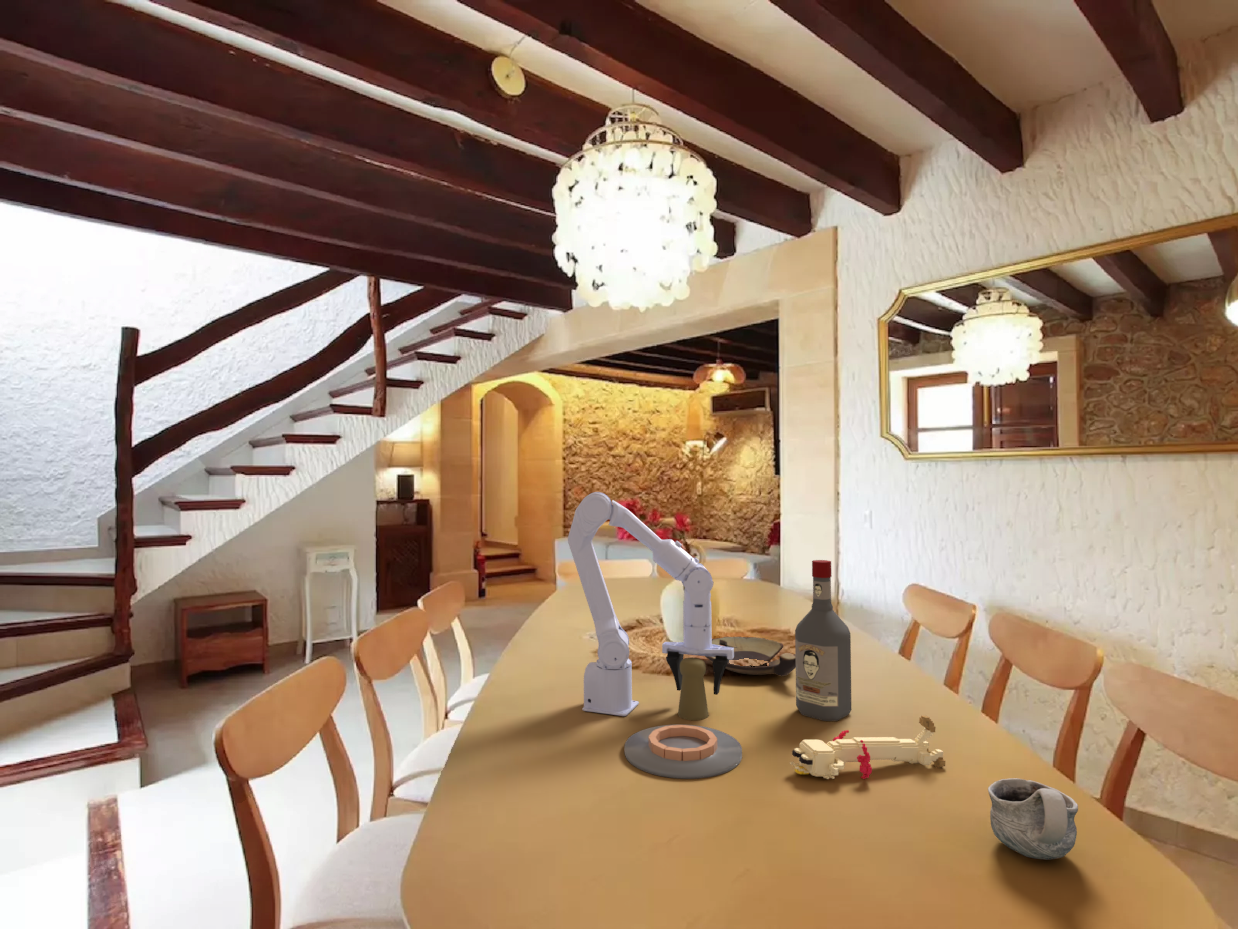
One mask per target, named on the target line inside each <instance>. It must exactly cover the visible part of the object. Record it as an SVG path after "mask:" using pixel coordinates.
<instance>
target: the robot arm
mask: <svg viewBox="0 0 1238 929" xmlns="http://www.w3.org/2000/svg"><path fill="white" fill-rule="evenodd" d="M608 520H609V522H608V526H611V527H617V528H622V529H624V530H625V531H626V532H628V533H629V535H631V536H633V537H634V538H635V539H637V541H639V542H640V543H641V544H643V546H645V547H647V549H648V550H650V551H651V553H652V560H653V562H654V563H656V564H657V565H658V566H659V567H660V568H661V569H662V570H664V571H665V572H667V574H668V575H669V576H671V578H673V579H674V580H676V581H678V582H679V581H680V582H681V584H682V585H683V588H684V589H683V593H684V594H683V598H684V599H683V601H682V603H683V604H682V605H683V607H682V608H683V610H682V614H683V620H682V621H683V622H682V623H683V625H682V626H683V627H682V628H683V634H682V635H683V641H664V642H663V643H662V644H661V645H662V646H661V647H662V651H661V653H662V654H665V655H666V657H665V660H666V662H667V664H668V666H669V668H670V670H671V672H672V676H673V679H674V682H675V686H676V691H678V692H681V684H682V674H681V672H680V663H681V661H682V660H683V659H684V656H685V655H687V656H698V657H705V656H709V657H716V658H715V659H714V660H713V661H711V662H712V671H713V695H718V694H719V693H720V689H721V682H722V678H723V675H724V673H725V671H726V670H725V668H726V665H727V663H728V661H729V659H731V660H732V659H733V658H734V648H732V647H725V646H722V645H714V644H712V639H713V638H712V637H713V636H712V630H713V629H712V626H713V625H712V601H711V597H712V593H711V591H712V589H713V587H714V580H713V577H712V574H711V573H710V572H709V570H708V569H707V568H706V567H705V566H704V564H702V563H700V559H698V558H697V557H693V556H692V555H690V554H689V553H688V551H686V550H685V549H684V548H682V546H683V544H682V543H681V542H680V541H678V540H675V541H674V540H673V539H672V538H669V539H668V538H666V539H661V538H660V537H659V536H658V535H657V534H656V533H655V532H654V531H653V530H652V529H650V527H648V526H647V525H646V524H645V523H644V522H643V521H642V520H640V519H639V518H638V517H637V516H636V515H635V514H634V513H633V512H632V511H630V510H629V509H628V508H626V507H625V506H623V505H622V504H620V503H619V502H618V501H615V500H614V499H612V500H611V498H610V497H609V495H607V494H605V493H604V492H600V491H595V492H591V493H589V494H588V495H586V496H585V497H584V498H582V500H581V502H580V503H579V505H578V506H577V507H576V509H575V512H574V515H573V520H572V522H571V525H570V529H569V532H568V536H567V543H568V545H569V549H570V552H571V555H572V556H571V557H572V558H573V562H574V565H575V568H576V571H577V573H578V577H579V581H580V583H581V586H582V589H583V592H584V595H585V599H586V602H587V606H588V608H589V611H590V614H591V617H592V621H593V624H594V629H595V635H596V638H597V641H598V646H597V647H598V648H597V657H598V659H596V661H595V662H594V661H591V662H589V663H587V665H586V667H585V669H584V674H583V707H582V711H584V712H592V713H596V714H597V713H598V714H605V715H614V716H622V717H626V716H628V715H629V714H630V713H631V712H632V711H633V710H634V709H635V708H636V707H637V706H638V705H639V704H640V702H639V700H638V701H637V700H633V687H632V686H633V681H632V680H633V676H632V675H633V674H632V671H633V670H632V669H633V668H632V666H633V665H632V660H631V659H630V648H629V646H630V638H629V634H628V633H627V632H626V631H625V629H623V628H622V626H621V624H620V622H619V619H618V616H617V614H616V612H615V609H614V605H613V603H612V600H611V596H610V594H609V590H608V586H607V584H606V580H605V578H604V576H603V571H602V569H601V566H600V563H599V559H598V556H597V553H596V550H595V548H594V544H593V539H594V538H595V536H596V533H597V532H598V530H599V529H600V527H601V526H603V525H604V524H605V523H606V521H608Z"/></svg>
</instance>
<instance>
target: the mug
mask: <svg viewBox="0 0 1238 929" xmlns="http://www.w3.org/2000/svg"><path fill="white" fill-rule="evenodd" d="M987 792H988V795H989V798H990V801H991V808H990V812H989V813H990V815H989V817H990V825H991V826H990V828H991V830H992V832H993V834H994V836H995V837H996V838H997V839H998V840H999V841H1000V842H1001V843H1002V844H1003V845H1005V846H1006V847H1007V848H1009V849H1010V850H1013V851H1014V852H1016V853H1018V854H1020V855H1021V856H1024V857H1027V858H1030V859H1031V858H1032V859H1038V860H1048V861H1050V860H1055V859H1061V858H1063V857H1065V856H1066V855H1067V854H1069V853H1070V852H1071V851H1072V849H1073V848H1074V847H1075V844H1076V841H1077V840H1076V839H1077V833H1078V831H1077V830H1078V829H1077V825H1076V823H1075V817H1076V815H1077V813H1078V812H1079V804H1078V803H1077V802H1076V801H1075V799H1073V798H1072V797H1071V796H1069V795H1067V794H1066V793H1063V792H1062V791H1060V790H1059V789H1057V788H1054V787H1051V786H1049V785H1046V784H1044V783H1042V782H1038V781H1036V780H1035V781H1034V780H1031V779H1028V780H1027V779H1025V778H1024V779H1023V778H1016V777H1015V778H1001V779H999V780H996V781H994V782H993V783H991V784H990V785H988V788H987Z"/></svg>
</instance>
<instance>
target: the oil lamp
mask: <svg viewBox="0 0 1238 929" xmlns="http://www.w3.org/2000/svg"><path fill="white" fill-rule="evenodd" d="M712 644H714V645H720V646H725V647H732V648H734V658H733V659H732V660H739V659H744V658H749V659H757V660H764V661H769V662H768V663H769V666H766V665H761V666H755V667H753V666H752V667H751V666H740V665H734V664H730V663H729V661H728V663H727V665H726V668H725V669H726V670H728V671H731V672H734V673H736V674H742V675H747V676H748V675H750V676H762V675H771V674H772V675H776V676H779V677H786V676H788V675H790V673H792V672H793V671H794V670H796V656H795V653H791V652H786V653H785V652H784V653H782V654H780V655H779V658H778V659H775V660H773V659H774V658H775V657H776V656H777V655H778V654H779V653H780V652H781V651H782V650H783V648H784V644H783V643H782V642H778V641H776V640H773V639H767V638H763V637H756V636H753V637H752V636H749V637H748V636H723V637H719V638H718V637H717V638H712ZM704 657H705V658H706V659H708V661H711V662H712V661H713V660H714V659H715V658H716V657H709V656H704ZM729 660H731V659H729ZM771 660H772V661H771Z"/></svg>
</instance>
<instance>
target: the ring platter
mask: <svg viewBox="0 0 1238 929" xmlns="http://www.w3.org/2000/svg"><path fill="white" fill-rule="evenodd" d="M624 756H625V759H626V760H627V761H628V763H629V764H630V765H632V766H633V767H635V768H636V769H638V770H640V771H643V772H645V773H648V774H651V775H655V776H658V777H663V778H670V779H681V780H682V779H683V780H688V779H689V780H690V779H691V780H692V779H693V780H694V779H695V780H696V779H704V778H711V777H717V776H719V775H723V774H725V773H728V772H730V771H732V770H733V769H735V768H736V767H737V766H739V765H740V763H741V762H742V759H743V747H742V744H740V742H739V741H738V740H737V739H736V738H734V737H733V736H732V735H730V734H728V733H726V732H723V731H722V730H718V729H714V728H711V727H706V726H702V725H697V724H695V725H693V724H665V725H663V724H662V725H657V726H651V727H648V728H645V729H641V730H639V731H637V732H635V733H633V734H632V735H630V736H629V737H628V738H627V740H626V741H625V743H624Z"/></svg>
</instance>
